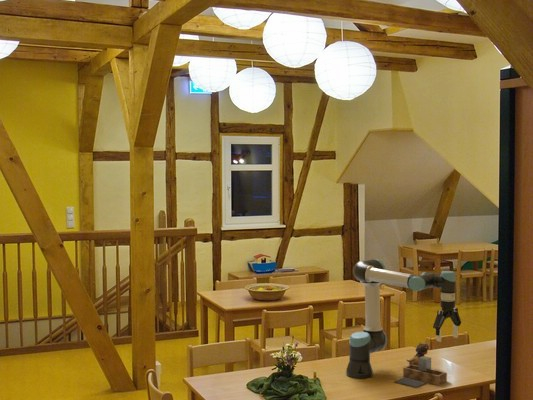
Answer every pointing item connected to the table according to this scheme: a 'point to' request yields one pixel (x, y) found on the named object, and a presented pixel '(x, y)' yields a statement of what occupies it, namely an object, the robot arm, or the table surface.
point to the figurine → (419, 354)
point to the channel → (425, 375)
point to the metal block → (425, 364)
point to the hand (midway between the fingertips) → (447, 339)
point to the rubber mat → (410, 382)
